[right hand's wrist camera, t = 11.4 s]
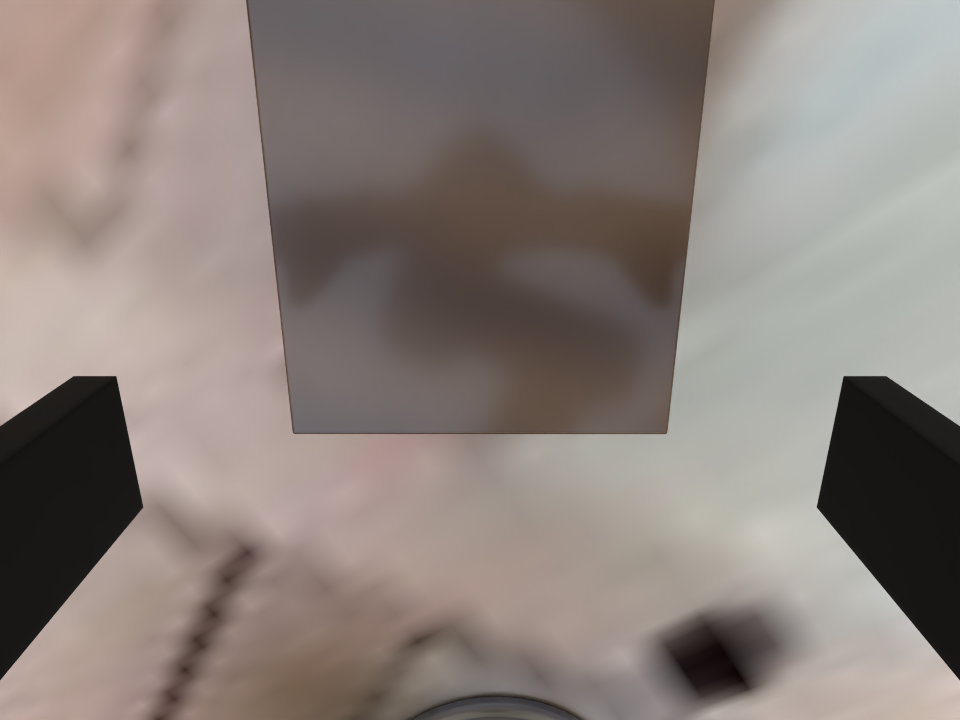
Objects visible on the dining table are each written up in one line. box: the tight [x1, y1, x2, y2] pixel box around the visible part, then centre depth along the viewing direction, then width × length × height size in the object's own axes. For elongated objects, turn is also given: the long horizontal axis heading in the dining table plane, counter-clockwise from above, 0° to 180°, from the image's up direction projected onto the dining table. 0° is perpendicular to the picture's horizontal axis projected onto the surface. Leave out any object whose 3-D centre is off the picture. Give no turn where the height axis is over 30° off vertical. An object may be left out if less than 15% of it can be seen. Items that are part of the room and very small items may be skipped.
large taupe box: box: [246, 0, 715, 434], centre depth 22 cm, size 21×11×12 cm, turn 0°
